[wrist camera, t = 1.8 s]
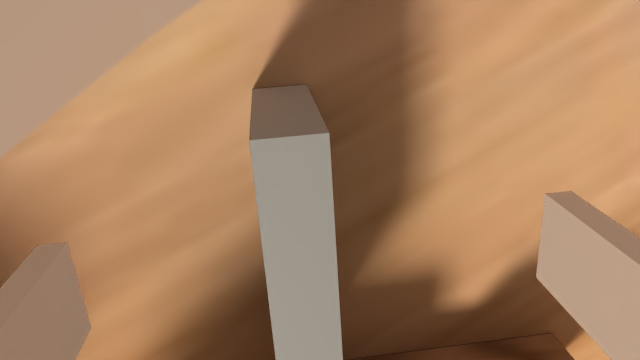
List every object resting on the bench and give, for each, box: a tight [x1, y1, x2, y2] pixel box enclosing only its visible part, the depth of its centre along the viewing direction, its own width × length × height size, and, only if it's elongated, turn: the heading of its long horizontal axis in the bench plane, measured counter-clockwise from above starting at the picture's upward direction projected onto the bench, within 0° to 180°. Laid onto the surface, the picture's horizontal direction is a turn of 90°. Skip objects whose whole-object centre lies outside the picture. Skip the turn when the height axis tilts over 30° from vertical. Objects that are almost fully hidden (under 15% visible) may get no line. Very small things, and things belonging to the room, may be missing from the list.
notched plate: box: [249, 84, 343, 360], centre depth 26 cm, size 3×16×10 cm, turn 4°
